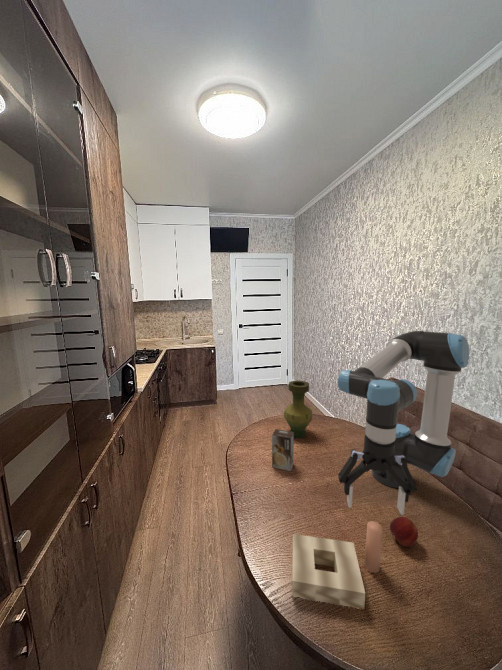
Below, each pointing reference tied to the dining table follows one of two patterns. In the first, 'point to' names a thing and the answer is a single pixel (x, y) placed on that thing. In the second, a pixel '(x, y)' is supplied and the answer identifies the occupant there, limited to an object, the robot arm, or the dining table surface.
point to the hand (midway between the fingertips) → (374, 507)
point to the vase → (298, 409)
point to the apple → (404, 531)
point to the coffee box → (282, 449)
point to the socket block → (325, 584)
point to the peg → (373, 546)
